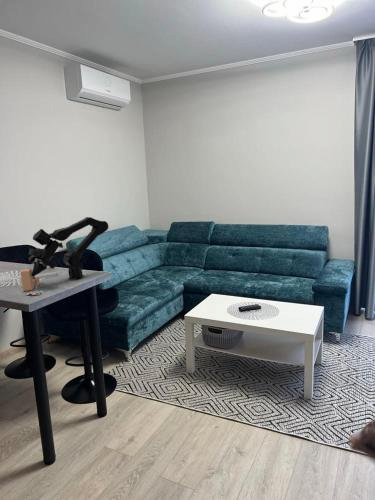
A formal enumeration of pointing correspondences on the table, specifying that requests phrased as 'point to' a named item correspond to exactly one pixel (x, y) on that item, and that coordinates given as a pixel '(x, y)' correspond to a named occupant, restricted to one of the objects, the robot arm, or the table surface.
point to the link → (28, 279)
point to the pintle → (36, 283)
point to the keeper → (20, 282)
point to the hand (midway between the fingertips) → (32, 276)
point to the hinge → (44, 272)
